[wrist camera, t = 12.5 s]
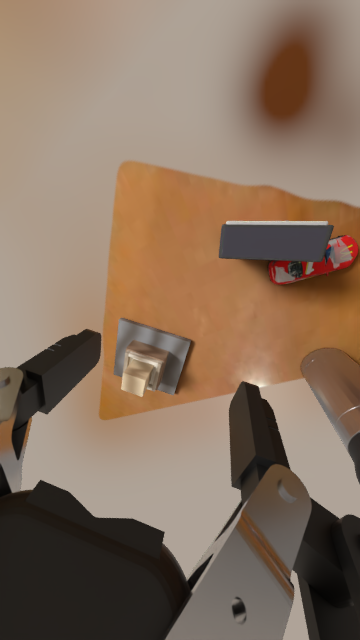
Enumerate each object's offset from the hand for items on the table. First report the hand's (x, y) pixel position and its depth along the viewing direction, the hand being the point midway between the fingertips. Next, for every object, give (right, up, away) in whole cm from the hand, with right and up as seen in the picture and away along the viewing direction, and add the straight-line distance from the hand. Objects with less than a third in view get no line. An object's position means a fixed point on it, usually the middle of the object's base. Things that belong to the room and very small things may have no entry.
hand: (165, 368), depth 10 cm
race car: (+24, +13, +23) cm, 35 cm away
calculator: (+14, +17, +23) cm, 32 cm away
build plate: (-7, -7, +39) cm, 40 cm away
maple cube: (-8, -9, +34) cm, 36 cm away
